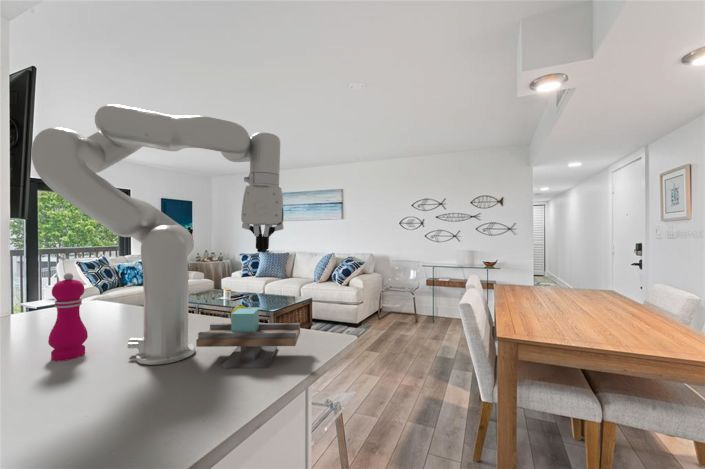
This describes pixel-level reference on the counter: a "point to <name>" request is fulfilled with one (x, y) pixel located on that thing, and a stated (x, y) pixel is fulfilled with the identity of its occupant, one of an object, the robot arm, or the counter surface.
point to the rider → (245, 320)
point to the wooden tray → (250, 342)
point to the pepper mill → (68, 320)
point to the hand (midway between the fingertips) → (262, 251)
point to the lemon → (238, 307)
